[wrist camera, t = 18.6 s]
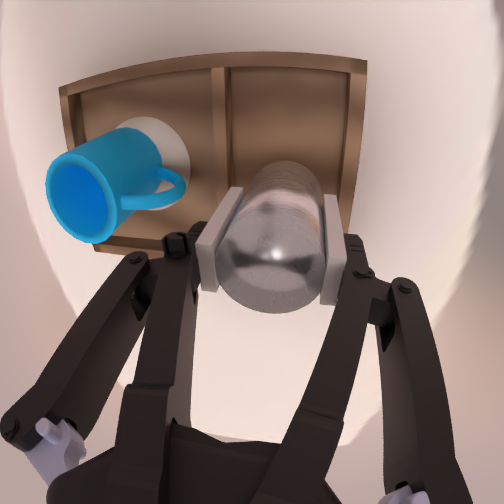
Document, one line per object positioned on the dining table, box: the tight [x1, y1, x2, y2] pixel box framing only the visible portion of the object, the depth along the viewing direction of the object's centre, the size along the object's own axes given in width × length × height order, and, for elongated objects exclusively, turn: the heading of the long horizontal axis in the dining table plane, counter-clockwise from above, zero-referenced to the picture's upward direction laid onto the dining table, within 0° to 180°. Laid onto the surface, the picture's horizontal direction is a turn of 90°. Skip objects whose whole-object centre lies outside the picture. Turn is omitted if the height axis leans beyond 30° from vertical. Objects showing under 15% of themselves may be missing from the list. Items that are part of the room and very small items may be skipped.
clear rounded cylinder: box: [215, 161, 326, 313], centre depth 16 cm, size 5×5×9 cm
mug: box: [45, 127, 187, 244], centre depth 23 cm, size 12×8×8 cm
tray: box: [59, 52, 367, 259], centre depth 25 cm, size 20×28×3 cm
